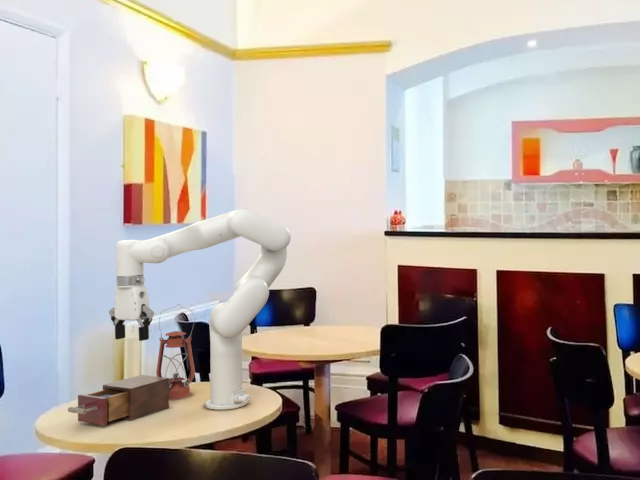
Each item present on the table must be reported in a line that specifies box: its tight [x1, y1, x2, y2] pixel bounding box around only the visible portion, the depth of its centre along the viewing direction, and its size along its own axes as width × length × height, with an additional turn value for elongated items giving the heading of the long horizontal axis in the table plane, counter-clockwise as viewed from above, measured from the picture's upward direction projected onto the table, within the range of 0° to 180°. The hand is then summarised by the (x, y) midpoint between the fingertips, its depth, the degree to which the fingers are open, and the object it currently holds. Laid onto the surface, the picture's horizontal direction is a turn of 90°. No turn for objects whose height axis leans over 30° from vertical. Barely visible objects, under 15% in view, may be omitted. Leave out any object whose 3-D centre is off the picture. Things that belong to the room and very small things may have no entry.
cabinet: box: [102, 374, 170, 421], centre depth 207 cm, size 15×12×9 cm
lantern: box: [155, 303, 196, 401], centre depth 226 cm, size 10×10×30 cm
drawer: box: [67, 388, 129, 426], centre depth 196 cm, size 18×10×7 cm, turn 154°
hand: (132, 339), depth 203 cm, fingers open, 9 cm apart
